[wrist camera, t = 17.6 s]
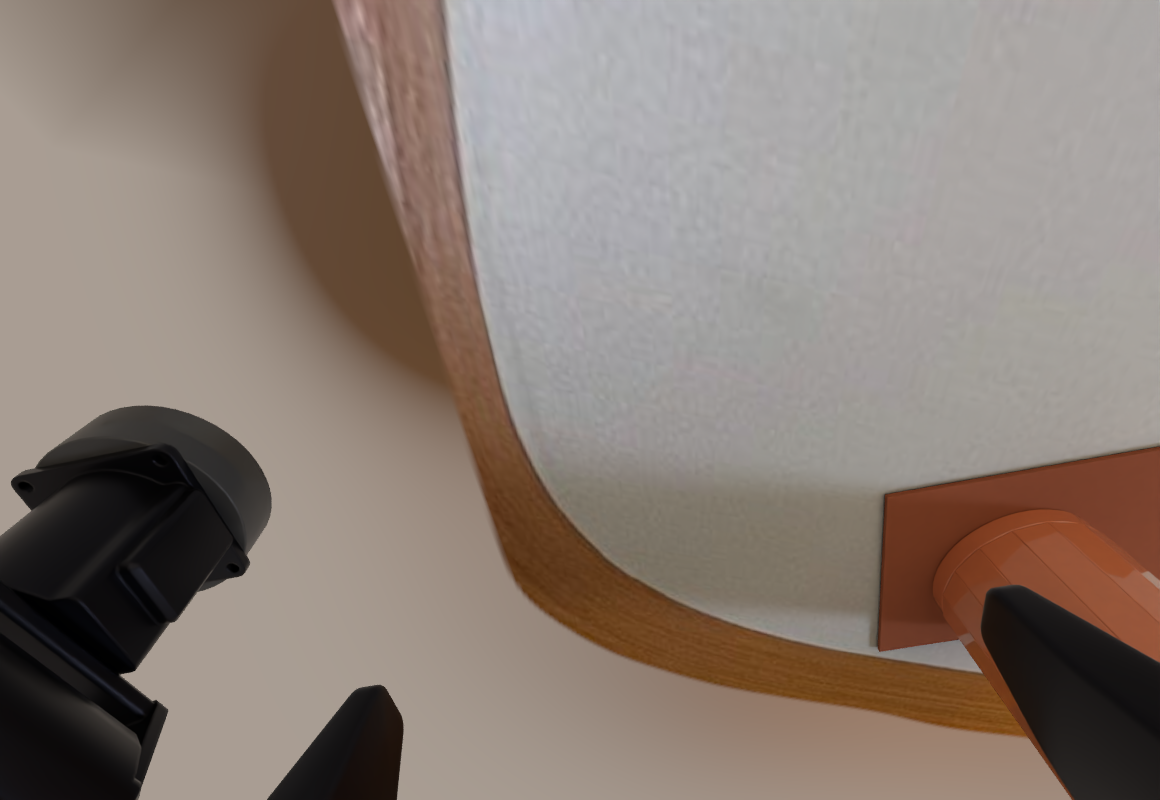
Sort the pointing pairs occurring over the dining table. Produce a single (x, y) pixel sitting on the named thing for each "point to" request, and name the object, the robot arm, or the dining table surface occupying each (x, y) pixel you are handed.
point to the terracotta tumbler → (1047, 585)
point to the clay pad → (952, 511)
